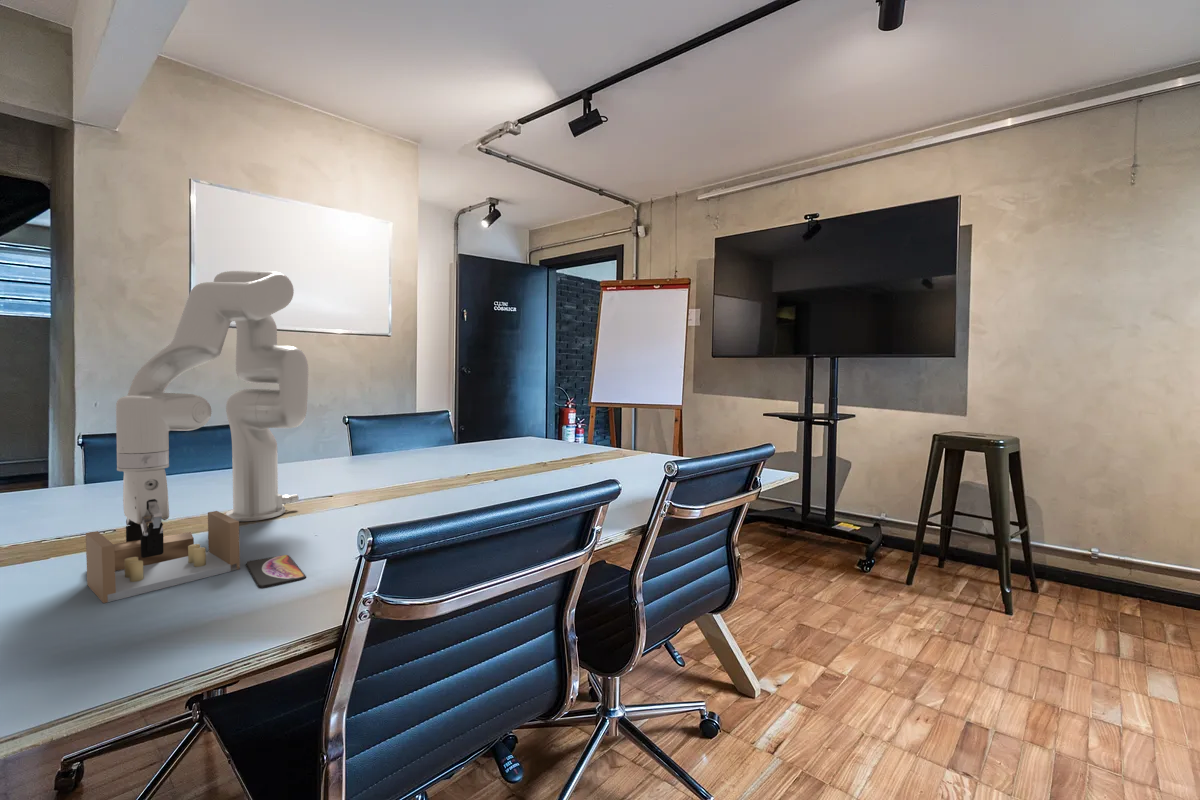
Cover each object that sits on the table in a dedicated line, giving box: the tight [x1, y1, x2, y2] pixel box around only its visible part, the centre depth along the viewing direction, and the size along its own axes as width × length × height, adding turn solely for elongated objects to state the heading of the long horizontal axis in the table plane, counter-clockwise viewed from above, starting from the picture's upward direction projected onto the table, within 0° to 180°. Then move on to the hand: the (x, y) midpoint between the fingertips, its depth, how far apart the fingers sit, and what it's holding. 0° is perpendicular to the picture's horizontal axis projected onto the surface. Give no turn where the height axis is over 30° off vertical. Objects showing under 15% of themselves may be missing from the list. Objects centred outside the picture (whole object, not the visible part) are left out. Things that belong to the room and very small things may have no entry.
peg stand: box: [85, 510, 241, 604], centre depth 96 cm, size 19×11×9 cm, turn 143°
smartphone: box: [245, 554, 307, 589], centre depth 100 cm, size 8×1×15 cm
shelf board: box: [113, 531, 195, 572], centre depth 103 cm, size 14×5×4 cm, turn 132°
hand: (144, 550), depth 103 cm, fingers open, 9 cm apart
